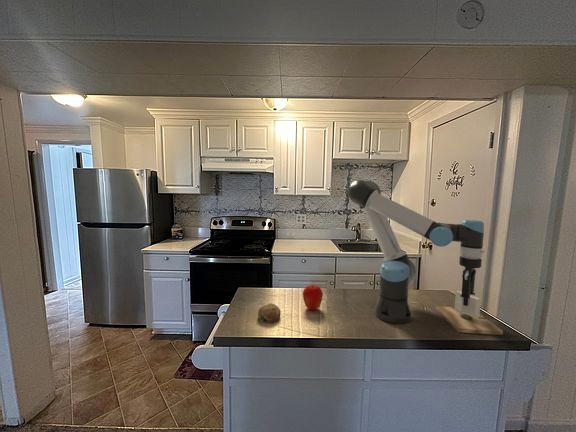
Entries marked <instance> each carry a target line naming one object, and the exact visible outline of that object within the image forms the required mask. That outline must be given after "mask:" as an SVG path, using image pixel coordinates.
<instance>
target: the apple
mask: <svg viewBox="0 0 576 432" xmlns="http://www.w3.org/2000/svg"><path fill="white" fill-rule="evenodd" d="M323 295H324V293H323V290H322V288H321V287H320V286H319V285H314V284H309V285H307V286H305V288H304V289H303V291H302V298H303V303H304V305H305V307H306V308H307V309H308V310H309V311H312V312H313V311H314V312H315V311H317V310H318V309H319V308H320V307H321V304H322V302H323Z"/></svg>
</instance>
